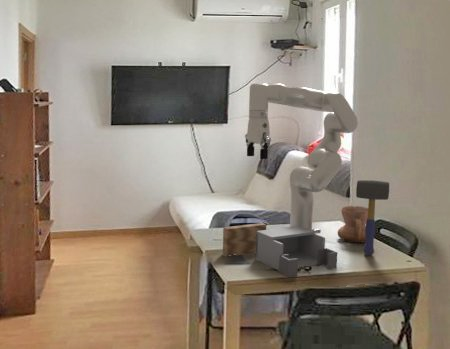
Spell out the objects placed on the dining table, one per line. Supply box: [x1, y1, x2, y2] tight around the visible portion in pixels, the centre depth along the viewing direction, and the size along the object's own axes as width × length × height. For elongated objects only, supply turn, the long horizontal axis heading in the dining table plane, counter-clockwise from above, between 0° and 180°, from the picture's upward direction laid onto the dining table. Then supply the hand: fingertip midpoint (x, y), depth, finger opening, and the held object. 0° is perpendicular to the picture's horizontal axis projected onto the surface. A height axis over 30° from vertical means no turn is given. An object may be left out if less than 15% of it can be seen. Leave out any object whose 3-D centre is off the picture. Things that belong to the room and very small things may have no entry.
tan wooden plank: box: [222, 222, 267, 257], centre depth 222 cm, size 18×4×11 cm, turn 120°
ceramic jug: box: [337, 205, 368, 243], centre depth 244 cm, size 18×14×14 cm
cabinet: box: [255, 226, 338, 278], centre depth 210 cm, size 22×22×11 cm
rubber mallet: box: [355, 179, 390, 256], centre depth 221 cm, size 12×8×30 cm, turn 75°
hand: (257, 157), depth 228 cm, fingers open, 9 cm apart
